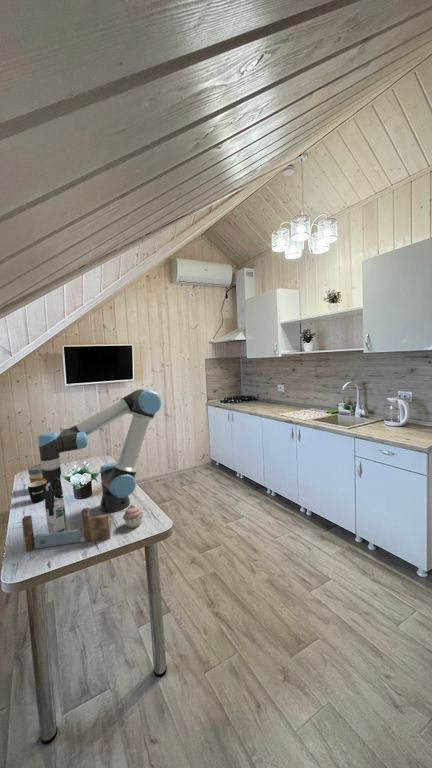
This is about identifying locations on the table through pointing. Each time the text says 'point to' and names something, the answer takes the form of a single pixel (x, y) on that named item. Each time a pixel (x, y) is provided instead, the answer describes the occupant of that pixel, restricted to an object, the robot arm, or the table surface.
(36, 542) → the pale blue flat bar
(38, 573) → the table surface
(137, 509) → the cupcake
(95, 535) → the door frame
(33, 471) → the reusable coffee cup
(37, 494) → the mug
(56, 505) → the syrup box
